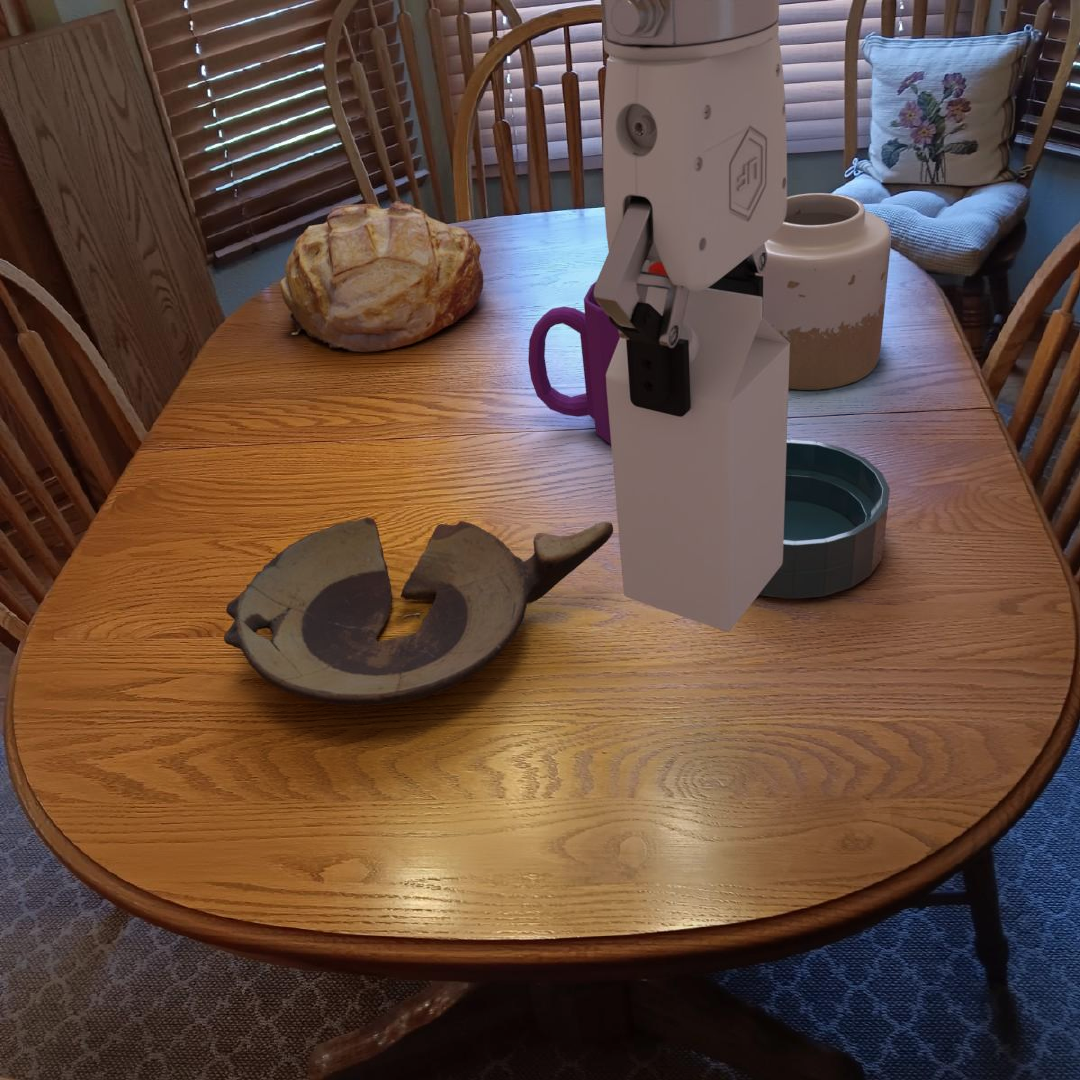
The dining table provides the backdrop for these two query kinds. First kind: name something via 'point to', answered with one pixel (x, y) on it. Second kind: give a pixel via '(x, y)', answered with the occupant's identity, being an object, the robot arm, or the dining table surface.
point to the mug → (596, 354)
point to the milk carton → (705, 465)
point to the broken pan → (365, 603)
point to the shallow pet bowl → (829, 521)
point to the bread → (380, 277)
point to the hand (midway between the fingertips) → (698, 372)
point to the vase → (827, 288)
